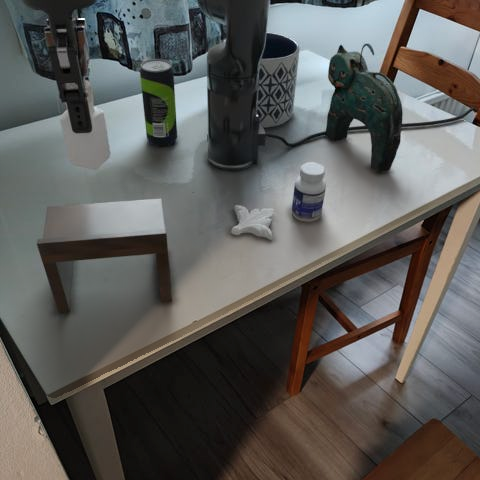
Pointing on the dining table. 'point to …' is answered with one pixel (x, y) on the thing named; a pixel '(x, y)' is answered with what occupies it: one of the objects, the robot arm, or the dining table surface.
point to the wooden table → (102, 240)
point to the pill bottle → (309, 192)
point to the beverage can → (159, 101)
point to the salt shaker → (86, 137)
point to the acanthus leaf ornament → (253, 221)
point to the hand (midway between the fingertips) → (83, 119)
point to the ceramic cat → (364, 106)
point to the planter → (277, 79)
